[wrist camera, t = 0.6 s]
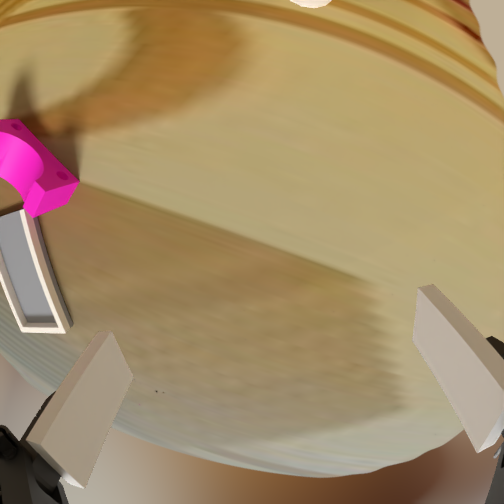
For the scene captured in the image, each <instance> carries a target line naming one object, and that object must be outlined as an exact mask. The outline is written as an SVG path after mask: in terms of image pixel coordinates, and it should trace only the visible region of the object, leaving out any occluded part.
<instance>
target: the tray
mask: <svg viewBox="0 0 504 504" xmlns="http://www.w3.org/2000/svg"><path fill="white" fill-rule="evenodd" d="M0 281H1V284H2V286H3V289H4V292H5V294H6V297H7V299H8V302H9V304H10V307H11V309H12V311H13V314H14V316H15V318H16V320H17V323H18V325H19V327H20V329H21V331H22V332H31V333H67V332H68V330H69V329H70V328H71V327H72V326H73V323H72V320H71V318H70V315H69V313H68V310H67V308H66V305H65V303H64V300H63V298H62V295H61V292H60V290H59V287H58V284H57V281H56V278H55V275H54V272H53V269H52V266H51V263H50V260H49V257H48V254H47V250H46V247H45V244H44V240H43V237H42V233H41V229H40V225H39V222H38V217H34V218H32V217H31V215H30V214H29V213H28V212H27V211H26V210H25V209H21V210H18V211H15V212H12V213H9V214H7V215H4V216H1V217H0Z"/></svg>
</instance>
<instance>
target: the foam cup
mask: <svg viewBox="0 0 504 504" xmlns="http://www.w3.org/2000/svg"><path fill="white" fill-rule="evenodd" d="M290 1H292V2H294V3H296V4H298V5H300V6H302V7H311V8H317V7H321V6H325V5H327V4H328V3H329V2H330V1H332V0H290Z"/></svg>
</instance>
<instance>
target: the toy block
mask: <svg viewBox="0 0 504 504" xmlns="http://www.w3.org/2000/svg"><path fill="white" fill-rule="evenodd" d="M0 177H1V178H3V179H5V180H6V181H8V182H9V183H11V184H12V185H13V186H14V187H15V188H16V189H17V190H18V192H19V193H20V195H21V196H22V198H23V201H24V202H25V203H24V205H23V208H24V209H25V210H26V211H27V212H28V213H29V214H30V215H31V217H32V218H34V217H37V216H39V215H41V214H43V213H46V212H48V211H51V210H53V209H55V208H58V207H60V206H63V205H65V204H67V202H68V201H69V199H70V197H71V195H72V194H73V192H74V190H75V188H76V187H77V185H78V183H79V182H80V181H79V180H78V179H77V178H76V177H75V176H74V175H73V174H72V173H71V172H70V171H69V170H68V169H67V168H66V167H65V166H64V165H63V164H62V163H61V162H60V161H59V160H58V159H57V158H56V157H55V156H54V155H53V154H52V153H51V152H50V151H49V150H48V149H47V148H46V147H45V146H44V145H43V144H42V143H41V142H40V141H39V140H38V139H37V138H36V137H35V136H34V135H33V134H32V133H31V131H30V130H29V129H28V128H27V127H26V126H25V125H24V124H23V123H22V122H21V121H20V120H19V119H2V120H0Z"/></svg>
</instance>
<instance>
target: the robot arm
mask: <svg viewBox="0 0 504 504" xmlns="http://www.w3.org/2000/svg"><path fill="white" fill-rule="evenodd" d="M412 341H413V343H414V344H415V346H416V347H417V349H418V351H419V352H420V354H421V355H422V357H423V358H424V360H425V362H426V363H427V365H428V366H429V368H430V370H431V371H432V373H433V375H434V376H435V378H436V380H437V381H438V383H439V385H440V386H441V388H442V390H443V391H444V393H445V395H446V397H447V398H448V400H449V402H450V404H451V405H452V407H453V409H454V411H455V412H456V414H457V416H458V418H459V420H460V422H461V423H462V425H463V427H464V429H465V431H466V433H467V435H468V436H469V438H470V440H471V442H472V444H473V446H474V448H475V450H476V452H477V453H478V452H480V451H482V450H484V449H486V448H488V447H490V446H492V445H494V444H495V442H496V441H497V439H498V438H499V436H500V435H501V434H502V436H503V437H504V343H503V342H502V341H500V340H498V339H496V338H494V337H493V336H491V337H488V338H486V339H485V338H484V336H483V335H482V334H481V333H480V332H479V331H478V330H477V329H476V328H475V327H474V325H473V324H472V323H471V322H470V321H469V320H468V319H467V318H466V317H465V316H464V315H463V314H462V313H461V312H460V311H459V310H458V309H457V308H456V307H455V306H454V304H453V303H452V302H451V301H450V300H449V299H448V298H447V297H446V296H445V295H444V294H443V293H442V292H441V291H440V290H439V289H438V288H437V287H436V286H435V285H433V284H431V285H427V286H423V287H418V293H417V304H416V314H415V323H414V331H413V339H412ZM133 377H134V376H133V374H132V372H131V371H130V369H129V367H128V365H127V363H126V360H125V358H124V356H123V354H122V352H121V350H120V348H119V346H118V344H117V341H116V339H115V337H114V335H113V333H112V331H98V332H97V334H96V335H95V336H94V338H93V339H92V341H91V342H90V343H89V345H88V346H87V348H86V349H85V350H84V352H83V353H82V355H81V356H80V357H79V359H78V360H77V362H76V363H75V364H74V366H73V367H72V369H71V370H70V372H69V373H68V375H67V376H66V377H65V379H64V380H63V382H62V383H61V385H60V386H59V388H58V389H57V391H55V392H54V393H53V394H51V395H50V396H49V397H48V398H47V399H46V400H45V402H44V403H43V405H42V406H41V410H39V411H38V413H37V414H36V417H34V419H33V420H32V422H31V424H30V425H29V427H28V428H27V430H26V432H25V433H24V435H23V437H22V438H21V440H20V441H18V440H17V438H16V437H15V436H14V435H13V434H12V433H11V431H10V430H9V429H8V428H7V427H6V426H4V425H0V504H69V503H68V500H67V497H66V495H65V491H64V488H63V486H62V484H61V483H60V482H59V479H60V477H62V478H64V479H65V480H66V481H67V482H68V483H69V484H71V485H74V486H77V487H81V488H84V489H85V488H86V485H87V482H88V480H89V477H90V475H91V473H92V470H93V468H94V465H95V463H96V460H97V458H98V456H99V453H100V451H101V449H102V446H103V444H104V441H105V439H106V437H107V435H108V432H109V430H110V428H111V425H112V423H113V421H114V419H115V416H116V414H117V412H118V410H119V407H120V405H121V403H122V401H123V399H124V396H125V394H126V392H127V390H128V388H129V386H130V384H131V381H132V379H133ZM499 453H500V456H499V459H498V463H497V467H496V471H495V474H494V478H493V481H492V484H491V487H490V490H489V493H488V496H487V499H486V502H485V504H504V442H503V443H502V445H501V446H500V447H499V449H498V450H497V452H496V453H495V455H494V457H493V458H496V457H497V456H498V455H499Z"/></svg>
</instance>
